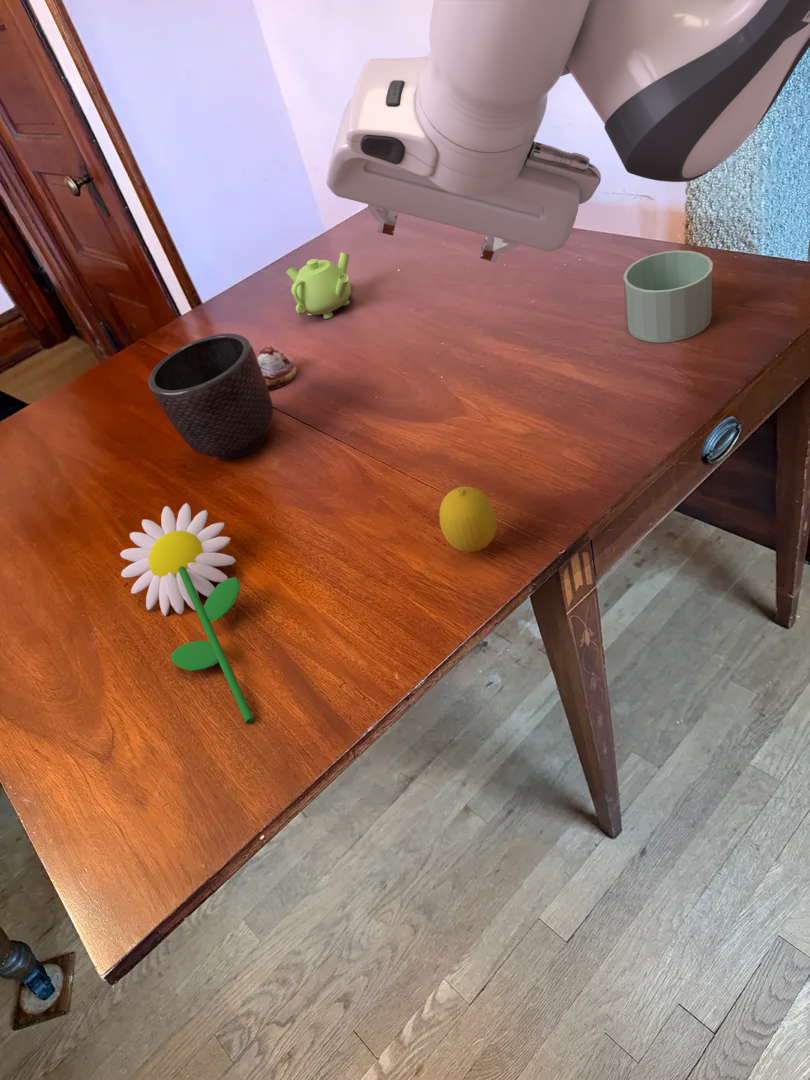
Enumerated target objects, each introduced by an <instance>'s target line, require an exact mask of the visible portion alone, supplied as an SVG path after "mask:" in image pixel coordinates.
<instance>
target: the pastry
mask: <svg viewBox="0 0 810 1080" xmlns="http://www.w3.org/2000/svg"><path fill="white" fill-rule="evenodd" d="M259 353H260V355H258V356H257V357H256V358H257V360H258V363H259V365H260V368H261V370H262V373H263V376H264V378H265V381H266V384H267V387H268V389H269V391H273V390H276V389H278V388H281V387H282V386H285V385H286V384H288V383H290V382H291V381H292V380H293V379H294V378H295V377H296V376H297V366H296V365H295V364H294V363H293V362H291V360H289V359H288V357H286V355H285V354H284V353H283V352H282V353H281V352H280V351H279V350H278V349H275V347H273V346H271V345H270V346H265V347H263V348H262V349H260V351H259Z"/></svg>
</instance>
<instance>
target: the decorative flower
mask: <svg viewBox="0 0 810 1080" xmlns="http://www.w3.org/2000/svg"><path fill="white" fill-rule="evenodd" d="M177 515H178V516H177V518H175V514H174V512H173V511H172V509H171V507H169V506H168V505H165V506H164V507H163V509H162V512H161V515H160V517H161V518H160V519H161V520H160V521H161V523H160V524H161V526H160V525H159V524H157V523H156V522H155V521H152V520H151V519H142V521H141V526H142V529H143V530H144V532H145V533H143V532H140V531H132V532H130V533H129V539H130V540H131V541H132V542H133V543H134V544H135V545H136V546H138V547H130V548H126V549H122V551H121V552H120V553H119V555H120V557H121V559H124V560H127V561H129V562H130V561H131V562H133V563H131V564H128V566H125V568H123V569H122V571H121V573H120V576H121V577H123V578H135V577H137V576H139V578H138V579H136V580H135V583H133V585H132V587H131V590H130V594H138V593H140V592H142V591H144V590H145V589H146V588H148V589H147V592H146V597H145V607H146V609H147V611H150V610H153V608H154V607H155V605H156V604H157V603H158V601H159V607H160V610H161V613H162V615H163V616H164V617H167V615H168V614H169V610H170V606H172V608H173V610H174V611H175V612H176V614H179V615H182V613H184V610H185V609H184V608H185V602H186V604H187V605H188V607H190V608H191V609H192V610H193V611H195V612H196V614H197V616H198V618H199V620H200V623H201V625H202V627H203V629H204V632H205V633H206V636H207V639H208V641H207V640H194V641H188V642H186V643H183V644H181V645H180V646H177V648H176V649H175V650H174V651H173V652H172V654H171V662H172V664H174V665H175V666H177V667H178V668H179V669H181V670H186V671H191V672H193V671H203V670H206V669H208V668H211V667H213V666H215V665H217V664H218V663H219V665H220V668H221V670H222V672H223V674H224V677H225V679H226V682H227V683H228V686H229V688H230V690H231V693H232V695H233V698H234V700H235V702H236V704H237V706H238V709H239V711H240V713H241V715H242V717H243V720H244V722H245V724H247V725H249V724H252V723H253V722H254V721H255V718H254V716H253V713H252V711H251V709H250V707H249V704H248V702H247V700H246V698H245V696H244V694H243V691H242V689H241V687H240V684H239V683H238V680H237V678H236V676H235V674H234V671H233V669H232V667H231V665H230V663H229V661H228V658H227V656H226V653H225V652H224V650H223V647H222V645H221V643H220V641H219V638H218V636H217V635H216V632H215V629H214V628H213V625H212V623H211V622H215V621H218V620H219V619H221V618H222V617H224V616H225V615H226V614H227V613H228V612H229V610H230V609H231V608H232V607H233V606H234V604H236V600H237V598H238V597H239V594H240V589H241V588H240V587H241V581H240V580H239V578H237V576H233V577H229V578H228V576H227V575H226V574H225V573H224V572H222V571H221V570H220V569H218V568H216V567H227V566H230V565H233V564H234V563H236V561H237V560H236V559H235V558H234V556H231V555H228V554H226V553H220V552H218V551H220V550H222V549H224V548H225V547H226V546H227V545H228V544H230V542H231V537H228V536H219V534H220V533H221V532H222V531H223V529H224V528H225V522H215V523H212V524H210V525H209V526H206V527H205V525H206V524H207V520H208V516H209V513H208V511H207V510H206V509H204V510H200V511H199V512H198V513H197V514H196V515H195V516H194V517H193V519H192V511H191V506H190V505H189V503H187V502H185V503H184V504H182V506H181V507H180V509H179V511H178V514H177ZM210 581H212V582H215V583H218V584H217V585H216V586H214V585H213V584H212V582H210ZM199 593H200V594H202V595H204V596H205V597H207V599H206V600H205V603H204V605H203V603H202V600H201V599H200V595H199Z"/></svg>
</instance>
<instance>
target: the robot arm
mask: <svg viewBox="0 0 810 1080" xmlns="http://www.w3.org/2000/svg"><path fill="white" fill-rule="evenodd" d="M428 27H429V28H428V41H429V50H430V51H429V52H428V54H427V56H420V57H419V56H417V57H403V58H402V57H400V58H398V57H397V58H385V57H384V58H379V57H377V58H370V59H367V60H366V61H365V62H364V63H363V65H362V67H361V70H360V73H359V75H358V78H357V80H356V83H355V86H354V89H353V93H352V96H351V98H350V99H348V101H347V103H346V104H345V107H344V109H343V112H342V115H341V119H340V121H339V125H338V128H337V132H336V136H335V139H334V143H333V147H332V151H331V156H330V160H329V164H328V169H327V175H326V186H327V188H328V189H329V190H330V191H331V192H332V193H333V194H334V195H335V196H336V197H338V198H341V199H347V200H350V201H355V202H357V203H361V204H362V203H363V204H366V205H367V209H368V211H369V212H370V213H371V215H372V216H373V217H374V219H375V220H376V221H377V229H376V232H377V233H379V234H385V235H389V236H394V234H395V228H396V225H397V220H398V215H399V213H400V214H403V215H408V216H412V217H415V218H419V219H423V220H427V221H430V222H434V223H439V224H442V225H446V226H450V227H453V228H457V229H461V230H465V231H468V232H473V233H476V234H481V235H485V237H484V238H483V241H482V246H481V252H480V254H479V259H481V260H484V261H488V262H492V263H496V262H497V260H498V258H499V256H500V254H504V253H505V252H508V251H510V250H512V249H515V248H517V247H518V245H523V246H525V247H527V246H528V247H530V248H534V249H537V250H541V251H545V252H553V251H556V250H559V249H561V248H564V246H565V245H566V244H567V242H568V239H569V238H570V235H571V233H572V232H573V231H572V230H573V228H574V226H575V223H576V219H577V215H578V213H579V212H578V211H579V206H580V205H582V204H585V203H587V202H588V201H590V199H591V198H592V197H593V195H594V194H595V192H596V191H597V189H598V187H599V186H600V184H601V182H602V181H601V180H602V176H601V171H599V168H598V167H597V166H595V165H594V164H592V163H591V162H590V158H589V157H588V156H586V155H584V154H582V153H578V152H569V151H565V150H562V149H560V148H557V147H555V146H552V145H548V144H545V143H541V142H538V141H535V138H536V136H537V134H538V132H539V130H540V128H541V124H543V123H542V122H543V120H544V117H545V114H546V110H547V104H548V97H549V92H551V90H552V89H553V88H554V87H555V85H556V84H557V83H558V81H559V80H560V79H561V77H564V76H566V75H569V74H570V75H571V76H572V77H573V79H574V80H575V82H576V84H577V85H578V86H579V88H580V89H581V91H582V92H583V94H584V96H585V97H586V98H587V100H588V102H589V103H590V104H591V106H592V108H593V110H594V111H595V112H596V114H597V115H598V117H599V118H600V120H601V121H602V123H603V124H604V126H603V127H604V130H605V132H606V135H607V136H608V138H609V140H610V142H611V144H612V146H613V148H614V150H615V152H616V153H617V155H618V157H619V159H620V161H621V163H622V165H623V167H624V169H625V171H626V172H627V173H629V174H631V175H634V176H637V177H640V178H643V179H648V180H652V181H658V182H666V183H688V182H691V181H695V180H697V179H699V178H702V177H703V176H704V175H706V174H708V173H710V172H711V171H712V170H714V169H715V168H716V167H718V166H719V165H721V164H722V163H723V162H724V161H726V160H727V159H728V158H729V157H730V156H732V155H733V154H734V153H735V152H736V151H737V150H738V149H739V148H740V147H741V146H742V145H743V144H744V143H745V142H746V140H747V139H748V138H749V137H750V136H751V134H752V133H753V132H754V131H755V130H756V129H757V127H758V126H759V125H760V123H761V122H762V121H763V119H764V118H765V117H766V115H767V114H768V113H769V111H770V110H771V108H772V106H773V105H774V103H775V102H776V100H777V99H778V97H779V95H780V94H781V93H782V91H783V89H784V87H785V86H786V84H787V82H788V81H789V79H790V77H791V76H792V74H793V73H794V71H795V70H796V68H797V66H798V64H799V63H800V62H801V60H802V58H803V57H804V56H805V54H806V53H807V51H808V50H809V48H810V0H433V4H432V10H431V15H430V21H429V26H428Z"/></svg>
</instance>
